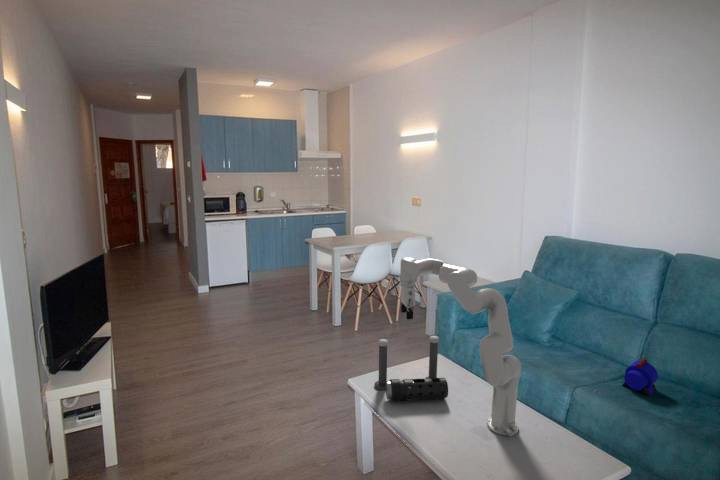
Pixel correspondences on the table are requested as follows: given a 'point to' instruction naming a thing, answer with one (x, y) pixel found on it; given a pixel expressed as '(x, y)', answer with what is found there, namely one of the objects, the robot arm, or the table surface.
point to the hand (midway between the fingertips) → (406, 315)
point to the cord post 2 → (433, 357)
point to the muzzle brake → (416, 389)
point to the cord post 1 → (382, 365)
